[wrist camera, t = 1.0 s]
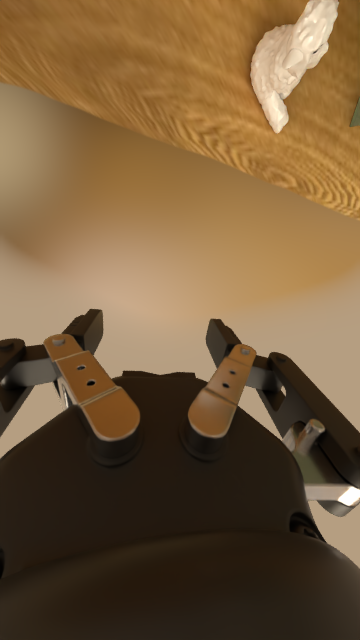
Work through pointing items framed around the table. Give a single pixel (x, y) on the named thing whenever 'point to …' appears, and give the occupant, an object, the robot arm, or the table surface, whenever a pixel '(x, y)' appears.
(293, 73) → the sitting furry creature
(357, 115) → the chest
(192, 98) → the table surface
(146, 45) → the table surface
